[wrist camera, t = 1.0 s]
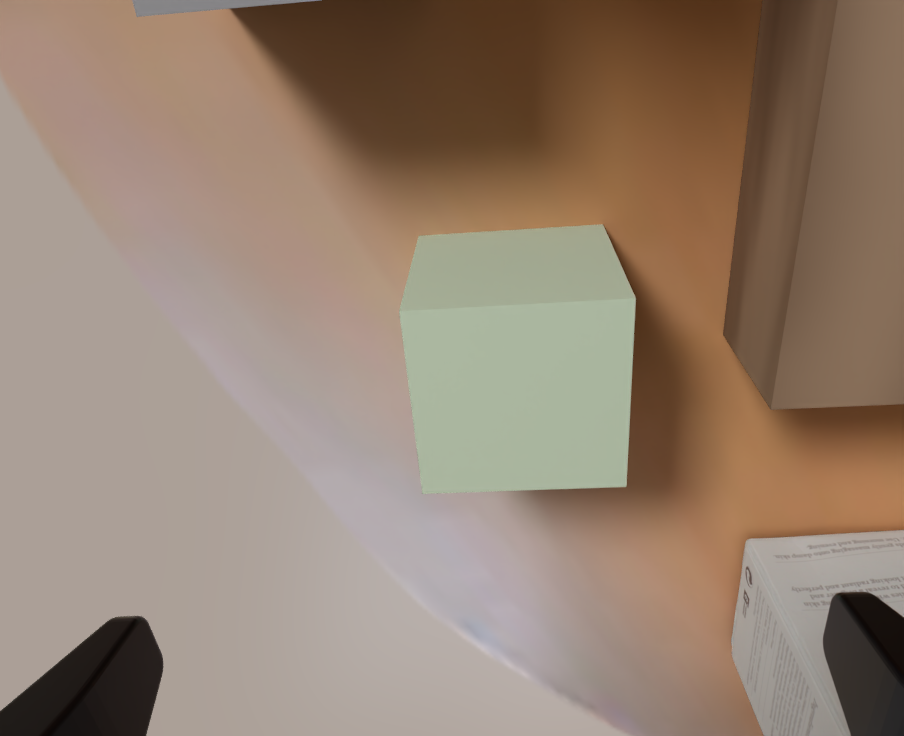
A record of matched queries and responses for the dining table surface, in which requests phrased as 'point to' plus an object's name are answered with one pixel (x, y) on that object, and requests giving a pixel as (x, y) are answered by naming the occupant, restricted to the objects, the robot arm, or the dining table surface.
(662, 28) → the dining table surface
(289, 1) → the grey block
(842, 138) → the walnut slab
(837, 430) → the dining table surface
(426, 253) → the sage block
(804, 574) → the skincare box
